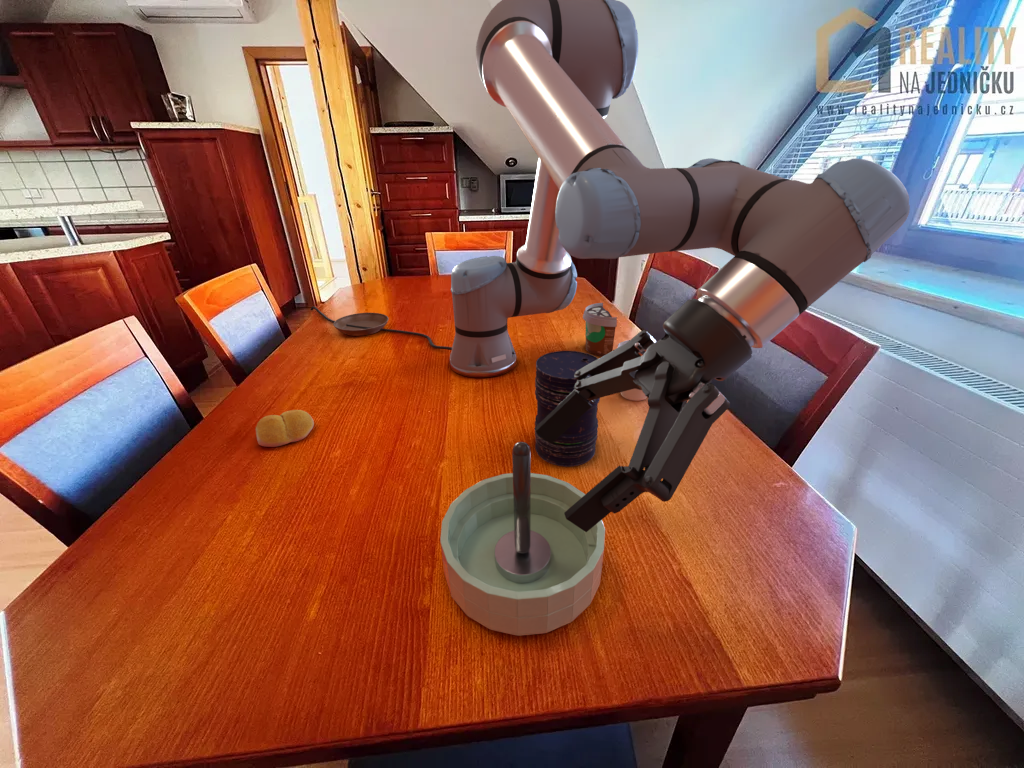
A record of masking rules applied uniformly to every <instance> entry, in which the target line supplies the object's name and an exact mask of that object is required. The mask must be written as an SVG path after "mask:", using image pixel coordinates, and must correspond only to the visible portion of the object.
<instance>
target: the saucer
mask: <svg viewBox="0 0 1024 768" xmlns="http://www.w3.org/2000/svg"><path fill="white" fill-rule="evenodd" d="M389 318H390V317H388V315H386V314H384V313H381V312H380V313H379V312H359V313H352V314H348V315H344V316H341V317H339V318H338V319H336V320H334V321H335V322H334V323H332V324H333V325H332V326H333V327H334V328H335V329H336V330H337V331H339V332H340V333H342V334H344V335H347V336H351V337H352V336H353V337H362V336H369V335H373V334H376V333H378V332H381V331H380V330H381V329H384V327H386V325H387V324H388V322H389ZM346 324H348V325H355V326H362V327H372V328H368V329H362V328H356V327H350V326H346Z"/></svg>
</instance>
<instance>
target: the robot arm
mask: <svg viewBox="0 0 1024 768" xmlns="http://www.w3.org/2000/svg"><path fill="white" fill-rule="evenodd" d="M636 24H637V23H636V19H635V17H634V14H633V12H632V10H631V9H630V8H629V7H628V5H627V4H626V3H625V2H623V1H620V0H500V1H499V2H497V3H496V4H495V6H493V7H492V9H491V10H490V11H489V12H488V14H487V15H486V17H485V19H484V20H483V22H482V24H481V27H480V29H479V32H478V36H477V40H476V44H475V62H476V69H477V72H478V75H479V79H480V81H481V83H482V85H483V86H484V88H485V90H486V92H487V93H488V95H489V96H490V97H491V99H492V100H493V101H494V102H496V103H497V104H498V105H500V106H502V107H505V108H507V110H508V111H509V112H510V114H511V116H512V118H513V119H514V121H515V123H516V124H517V125H518V127H519V129H520V130H521V132H522V134H523V135H524V136H525V138H526V140H527V141H528V142H529V144H530V146H531V148H532V149H533V151H534V153H535V154H536V155H537V157H538V160H537V166H536V173H535V180H534V187H533V191H532V192H533V193H532V200H531V207H530V212H529V213H530V214H529V219H528V220H529V221H528V226H527V234H526V240H525V244H523V245H522V246H520V247H519V248H518V250H517V252H516V258H515V259H516V260H515V261H512V262H507V261H506V258H504V257H503V256H500V255H489V256H487V255H486V256H479V257H473V258H471V259H467V260H464V261H461V262H459V263H458V264H457V265H455V266H454V267H453V268H452V270H451V273H450V293H451V297H452V299H451V300H452V308H453V321H454V331H455V332H454V339H453V342H452V346H447V345H446V346H444V345H436V344H434V343H433V340H432V338H431V337H430V336H429V335H427V334H425V333H420V332H415V331H407V330H402V329H401V330H400V329H393V328H392V329H391V328H382V329H381V330H380V331H379V332H386V333H387V332H389V333H397V334H405V335H413V336H417V337H423V338H425V339H426V340H427V341H428V343H429V345H430V346H431V347H432V348H433V349H437V350H448V351H451V352H450V355H449V367H450V369H451V370H452V371H453V373H456V374H458V375H460V376H463V377H468V378H475V379H476V378H479V379H481V378H483V379H484V378H491V377H498V376H500V375H504V374H507V373H508V372H510V371H512V370H514V368H515V367H516V365H517V354H516V353H517V352H516V350H515V348H514V345H513V342H512V340H511V337H510V334H509V330H508V320H509V318H517V317H525V316H532V315H539V314H551V313H555V312H557V311H562V310H564V309H566V308H568V307H569V306H570V305H571V303H572V302H573V300H574V298H575V296H576V293H577V289H578V288H577V287H578V281H577V278H578V272H577V269H576V266H575V264H574V262H573V260H572V257H574V258H575V259H580V260H585V259H586V260H587V259H601V260H616V259H619V258H625V257H634V256H642V255H650V254H659V253H673V252H682V251H692V250H701V249H703V250H704V249H712V248H714V249H719V250H722V251H724V252H726V253H728V254H730V255H732V256H733V257H732V258H731V259H730V260H729V261H728V262H726V264H724V265H723V266H722V267H721V268H720V269H718V271H717V272H715V274H714V275H712V276H711V277H710V278H709V279H708V280H706V282H704V283H703V284H702V286H700V287H699V288H698V289H697V293H696V294H697V296H696V297H697V298H689V299H687V300H686V301H685V302H683V304H682V305H681V306H679V308H678V309H676V310H675V311H674V312H673V313H672V314H671V315H670V316H669V317H668V318H667V319H666V320H665V321H664V322H663V324H662V329H663V331H664V336H663V337H662V338H660V339H659V340H656V339H655V338H654V336H652V335H651V333H649V332H648V331H647V330H646V329H643V330H640V331H639V332H638V333H636V335H634V336H633V337H632V338H630V339H629V340H630V341H629V342H627V343H626V344H624V345H622V346H620V347H618V346H617V347H618V348H615V349H613V350H612V351H611V352H610V353H608V354H606V355H604V356H600V357H599V358H598V359H597V360H595V361H593V362H592V363H590V364H588V365H586V366H585V367H583V368H581V369H579V370H578V371H576V372H575V374H574V377H575V378H576V379H577V382H576V384H575V386H574V388H575V389H574V390H573V391H572V392H571V393H570V394H569V395H568V396H567V397H566V398H565V399H564V400H563V401H562V402H561V403H560V404H559V405H558V406H557V407H556V408H555V409H554V410H553V411H552V412H551V413H550V414H549V415H548V416H547V417H546V418H545V419H544V420H543V421H541V422H540V423H539V424H538V425H537V426H536V427H535V426H534V433H535V432H536V433H538V434H539V435H540V436H541V437H543V438H544V439H545V440H547V441H548V442H549V443H551V444H552V443H553V442H554V441H555V440H556V439H557V438H558V437H559V436H561V435H562V434H563V433H564V432H565V431H566V430H567V429H568V428H569V427H570V426H571V425H572V424H574V423H575V422H576V421H577V420H578V419H579V418H580V417H581V416H582V415H583V414H584V413H585V412H587V411H588V410H589V409H590V408H591V407H592V406H591V404H590V403H589V402H588V401H587V399H588V400H589V401H590V402H591V403H592V404H595V403H594V402H595V401H596V399H598V398H600V399H601V398H605V397H608V396H612V395H616V394H619V393H620V394H621V392H624V391H627V390H631V389H638V390H642V391H643V393H644V394H645V395H646V396H647V398H648V399H647V405H648V410H647V414H646V416H645V419H644V422H643V425H642V427H641V430H640V432H639V435H638V438H637V441H636V444H635V445H634V449H633V452H632V454H631V457H630V460H629V463H628V465H627V466H626V465H617V466H616V468H614V469H613V470H612V471H611V472H610V473H608V474H607V475H606V476H605V477H604V478H603V479H602V480H600V481H599V482H598V483H597V484H595V486H593V487H592V488H591V489H590V490H589V491H588V492H587V493H584V494H585V495H584V496H583V497H582V498H581V499H580V500H578V501H577V502H576V503H575V504H574V505H573V506H571V507H570V508H569V509H568V510H567V511H566V512H564V514H565V517H566V519H567V520H568V521H570V522H571V523H573V524H574V525H576V526H577V527H579V528H581V529H582V530H584V531H585V532H587V531H589V530H590V529H591V528H592V527H593V526H595V525H596V524H597V523H598V522H599V521H601V520H602V521H603V519H604V518H606V517H607V516H608V515H609V514H611V513H613V514H618V513H619V512H621V511H622V510H623V509H625V508H626V507H627V506H628V505H630V504H631V503H632V502H633V501H634V500H636V499H637V498H638V497H640V496H641V495H642V494H644V493H649V494H651V495H652V496H654V497H656V498H657V499H659V500H660V501H661V502H668V501H670V500H671V499H672V498H673V496H674V494H675V492H676V491H677V489H678V487H679V485H680V484H681V482H682V480H683V478H684V476H685V474H686V473H687V470H688V469H689V467H690V465H691V463H692V462H693V460H694V458H695V456H696V454H697V453H698V451H699V449H700V447H701V446H702V444H703V442H704V440H705V438H706V436H707V435H708V433H709V431H710V429H711V427H712V426H713V424H714V423H715V422H717V420H718V419H720V417H721V416H722V415H723V414H725V412H726V411H727V410H728V409H729V408H730V406H731V402H730V401H729V400H728V399H727V397H725V395H724V394H723V393H722V392H721V391H720V390H719V389H718V387H717V386H715V384H713V383H712V382H713V381H714V380H716V381H719V382H723V381H725V380H727V379H728V378H729V377H731V375H733V374H734V373H735V372H737V370H738V369H740V368H741V367H742V366H744V365H745V364H746V363H747V362H748V361H749V360H750V359H752V357H753V349H763V347H765V346H766V345H767V344H768V343H769V342H771V340H773V339H774V338H775V337H776V336H778V335H779V334H780V333H781V332H782V331H783V330H785V329H786V328H787V327H788V326H789V325H791V324H792V323H793V322H794V321H795V320H796V319H798V317H800V315H802V314H803V313H804V312H805V311H806V310H807V309H808V308H809V307H811V306H812V305H813V304H814V303H815V302H816V301H818V300H819V299H820V298H821V297H822V296H823V295H825V294H826V293H827V292H828V291H830V290H831V289H833V287H834V286H835V285H837V284H838V283H839V282H840V281H841V280H843V279H844V278H845V277H847V276H848V275H849V274H850V273H851V272H852V271H854V270H855V269H857V268H858V267H859V266H860V265H861V264H863V263H866V262H867V261H869V260H870V259H871V258H872V256H873V254H874V253H875V252H876V251H877V250H878V249H880V247H881V246H882V245H884V243H886V242H887V241H888V239H890V238H891V237H892V236H893V235H894V234H895V233H896V232H897V231H898V230H899V229H900V228H901V227H902V226H903V225H904V224H905V222H906V221H907V220H908V217H909V214H910V210H911V205H910V195H909V192H908V190H907V187H905V185H904V184H903V182H902V181H901V180H900V179H899V177H898V176H897V175H895V174H894V173H893V172H892V171H891V170H890V169H888V168H886V167H884V166H883V165H880V164H879V163H877V162H874V161H871V160H868V159H863V158H850V159H848V160H841V161H838V162H835V163H834V164H832V165H830V166H829V167H828V168H827V169H826V170H824V172H822V173H818V174H817V175H816V177H815V178H814V179H813V181H812V182H811V183H808V182H803V181H800V180H797V179H789V178H785V177H782V176H779V175H775V174H772V173H768V172H765V171H762V170H759V169H756V168H753V167H749V166H746V165H744V164H741V163H740V162H739V161H735V160H731V159H730V160H722V159H718V158H711V157H710V158H703V159H700V160H698V161H696V162H694V163H693V164H691V166H688V167H666V168H663V167H661V168H658V167H657V168H656V167H655V168H650V167H646V166H645V165H644V164H643V163H642V162H641V161H640V159H638V157H637V156H636V155H635V154H634V153H633V152H632V151H631V149H630V148H629V147H628V146H627V144H626V143H625V142H624V141H623V140H622V139H621V137H620V136H619V135H618V133H616V131H615V130H614V129H613V128H612V126H611V125H610V124H609V123H608V121H606V118H607V117H608V116H609V111H610V107H611V103H612V100H615V99H618V98H620V97H621V96H623V95H624V94H626V92H627V89H629V88H630V87H631V84H632V82H633V79H634V76H635V73H636V69H637V65H638V57H639V34H638V29H637V25H636ZM571 256H572V257H571ZM314 310H315V312H317V313H318V314H319V315H320V316H322V317H323V318H324V319H325V320H326V321H328V322H330V323H332V324H334V322H335V321H336V320H333V319H331V318H329V317H327V316H326V315H325V314H324V313H323V312H322V311H321V310H320V309H318V307H316V306H311V308H310V311H314ZM346 326H350V327H356V328H362V329H368V328H372V327H362V326H355V325H348V324H346ZM752 348H753V349H752ZM589 374H590V375H591V377H589V376H588V375H589ZM593 401H594V402H593Z"/></svg>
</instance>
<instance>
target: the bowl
mask: <svg viewBox="0 0 1024 768" xmlns="http://www.w3.org/2000/svg"><path fill="white" fill-rule="evenodd" d="M585 494H586V493H584V492H583V491H581V490H580V489H578V488H577V487H576V486H574V485H573V484H571V483H570V482H568V481H565V480H563V479H559V478H556V477H554V476H551V475H548V474H541V473H534V472H531V530H532V531H535V532H537V533H539V534H540V535H542V536H543V537H544V538H545V539H546V540H547V542H548V543H549V545H550V549H551V563H550V567H549V569H548V571H547V572H546V574H545V575H544V576H543V577H542V578H540V579H538V580H537V581H534V582H531V583H515V582H512V581H509V580H507V579H506V578H504V577H503V576H502V575H501V574H500V573H499V571H498V570H497V568H496V565H495V554H494V551H495V546H496V544H497V542H498V540H499V539H500V538H501V537H502V536H503V535H505V534H506V533H508V532H510V531H513V530H514V501H513V472H510V473H509V472H508V473H502V474H499V475H495V476H491V477H488V478H484V479H482V480H480V481H479V482H477V483H475V484H473V485H471V486H470V487H468V488H466V489H464V490H463V491H462V493H460V495H458V496H457V497H456V498H455V499H454V500H453V501H452V502H451V503H450V504H449V507H448V509H447V511H446V513H445V515H444V517H443V519H442V520H441V528H440V538H439V543H440V550H441V558H442V565H443V573H444V577H445V580H446V584H447V587H448V590H449V593H450V597H451V598H452V599H453V601H454V602H455V603H456V604H457V605H458V607H459V608H460V609H461V610H462V612H463V613H464V614H465V616H467V617H468V618H469V619H471V620H473V621H475V622H477V623H478V624H480V625H482V626H483V627H485V628H487V629H489V630H491V631H495V632H499V633H502V634H503V633H504V634H509V635H513V636H517V637H521V636H530V635H540V634H541V635H542V634H547V633H550V632H552V631H554V630H556V629H559V628H561V627H564V626H566V625H568V624H570V623H572V622H574V620H575V619H577V618H578V617H579V616H580V615H581V614H582V613H583V612H584V611H585V610H586V609H587V608H588V607H589V606H590V605H591V604H592V601H593V600H594V597H595V596H596V593H597V591H598V589H599V587H600V585H601V580H602V579H601V578H602V570H603V563H604V553H605V540H606V539H605V538H606V527H605V525H604V522H603V519H602V520H601V521H599V522H598V523H597V524H596V525H595V526H593V527H592V528H591V529H590V530H589V531H587V532H585V531H584V530H582V529H581V528H579V527H577V526H576V525H574V524H573V523H571V522H570V521H568V520H567V519H566V517H565V514H564V512H566V511H567V510H568V509H569V508H570V507H571V506H573V505H574V504H575V503H576V502H577V501H578V500H580V499H581V498H582V497H583V496H584V495H585Z"/></svg>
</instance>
